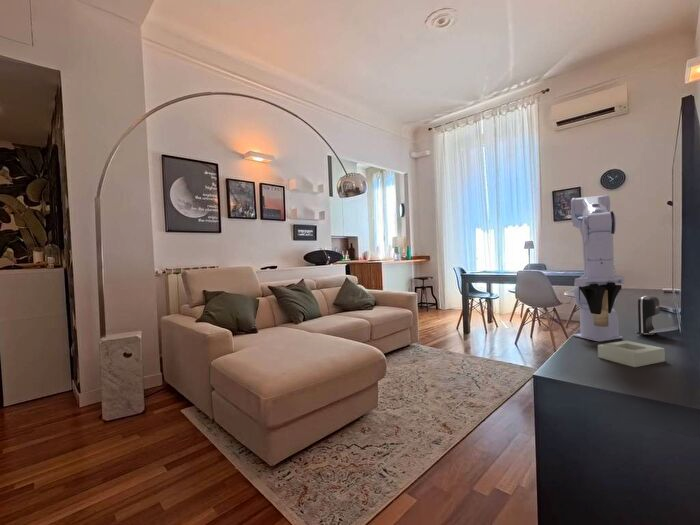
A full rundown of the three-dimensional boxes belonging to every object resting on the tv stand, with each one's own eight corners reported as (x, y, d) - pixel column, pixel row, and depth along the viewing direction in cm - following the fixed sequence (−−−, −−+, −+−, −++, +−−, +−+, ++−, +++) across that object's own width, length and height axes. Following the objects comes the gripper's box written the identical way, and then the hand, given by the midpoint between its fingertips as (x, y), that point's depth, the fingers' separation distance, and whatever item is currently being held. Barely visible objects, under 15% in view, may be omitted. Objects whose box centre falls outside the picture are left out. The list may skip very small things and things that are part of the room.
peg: (599, 323, 87) (598, 289, 87) (611, 325, 84) (610, 290, 84) (590, 324, 86) (590, 290, 86) (602, 327, 83) (601, 291, 83)
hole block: (626, 352, 85) (626, 340, 84) (664, 361, 77) (664, 348, 77) (598, 357, 82) (597, 345, 81) (634, 367, 74) (634, 353, 74)
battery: (655, 337, 97) (654, 298, 97) (638, 335, 100) (637, 297, 100) (661, 333, 101) (660, 295, 101) (645, 331, 104) (644, 295, 104)
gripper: (594, 261, 79) (595, 318, 79) (636, 258, 83) (638, 313, 84) (566, 261, 86) (568, 313, 86) (607, 259, 90) (608, 309, 90)
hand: (600, 313), depth 85 cm, fingers closed on peg, 3 cm apart
